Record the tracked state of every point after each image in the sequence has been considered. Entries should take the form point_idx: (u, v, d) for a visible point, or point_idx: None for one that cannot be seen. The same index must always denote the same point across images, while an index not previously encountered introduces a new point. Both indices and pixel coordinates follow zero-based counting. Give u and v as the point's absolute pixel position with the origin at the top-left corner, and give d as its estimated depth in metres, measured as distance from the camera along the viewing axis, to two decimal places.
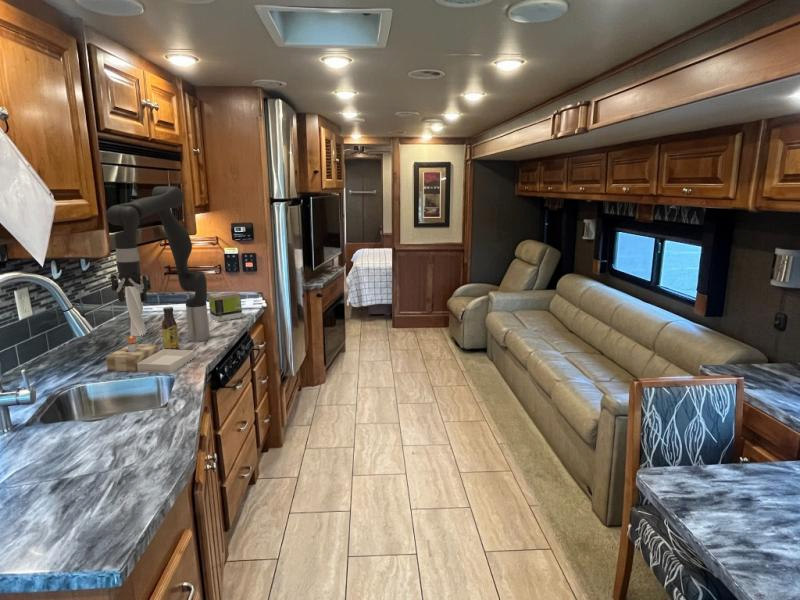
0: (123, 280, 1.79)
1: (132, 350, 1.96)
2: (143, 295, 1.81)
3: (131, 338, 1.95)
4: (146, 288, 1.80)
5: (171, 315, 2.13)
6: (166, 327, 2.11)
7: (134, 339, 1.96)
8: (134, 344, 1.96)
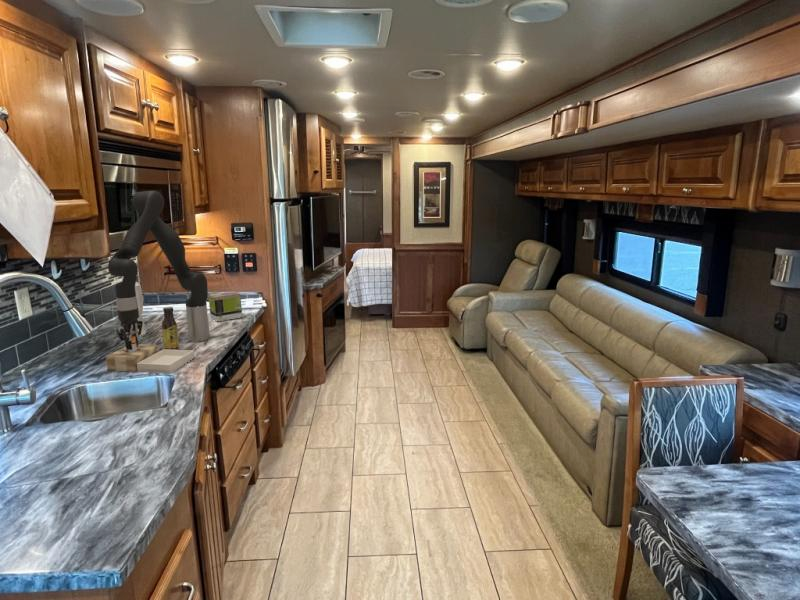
0: (132, 326, 1.94)
1: (132, 350, 1.96)
2: None
3: (131, 338, 1.95)
4: (140, 332, 2.00)
5: (171, 315, 2.13)
6: (166, 327, 2.11)
7: (134, 339, 1.96)
8: (134, 344, 1.96)
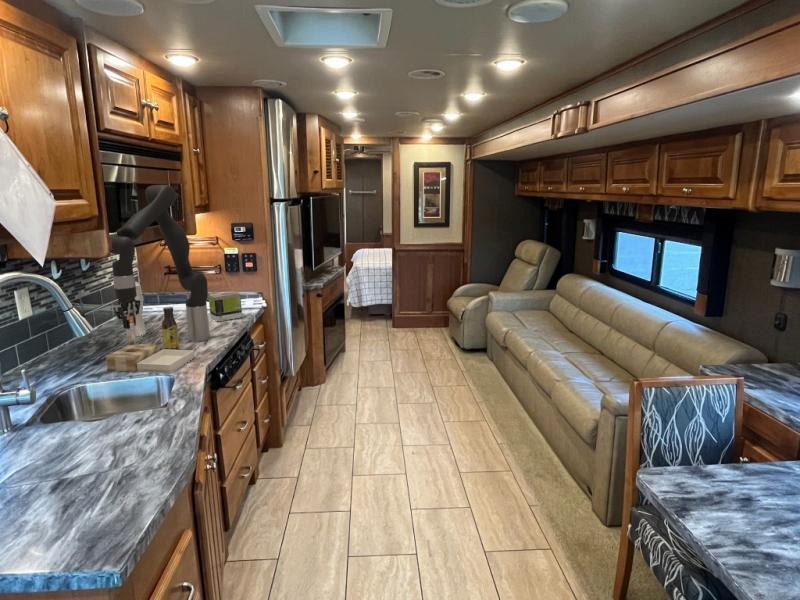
0: (129, 305, 1.92)
1: (130, 329, 1.94)
2: (135, 319, 1.97)
3: (129, 317, 1.93)
4: (138, 311, 1.98)
5: (171, 315, 2.13)
6: (166, 327, 2.11)
7: (132, 318, 1.94)
8: (132, 323, 1.94)
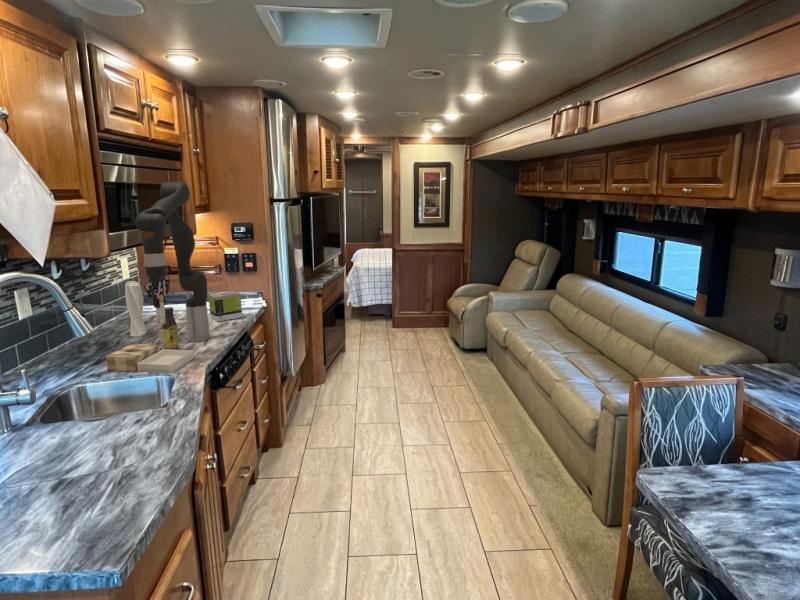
0: (160, 283, 1.89)
1: (160, 308, 1.92)
2: (164, 298, 1.95)
3: (159, 296, 1.91)
4: (167, 291, 1.96)
5: (171, 315, 2.13)
6: (166, 327, 2.11)
7: (162, 297, 1.92)
8: (162, 302, 1.92)
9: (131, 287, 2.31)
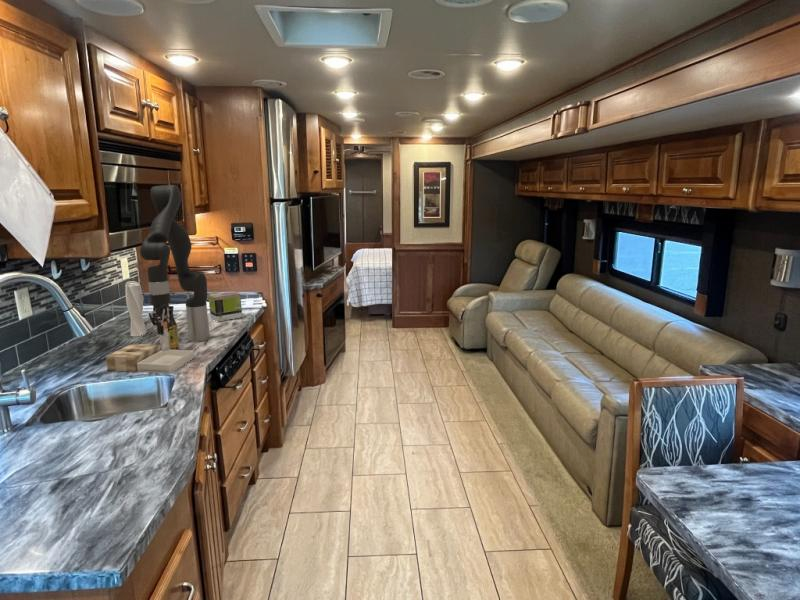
0: (164, 311, 1.92)
1: (163, 335, 1.94)
2: None
3: (163, 323, 1.93)
4: (171, 317, 1.98)
5: None
6: None
7: (165, 324, 1.94)
8: (165, 329, 1.94)
9: (131, 287, 2.31)
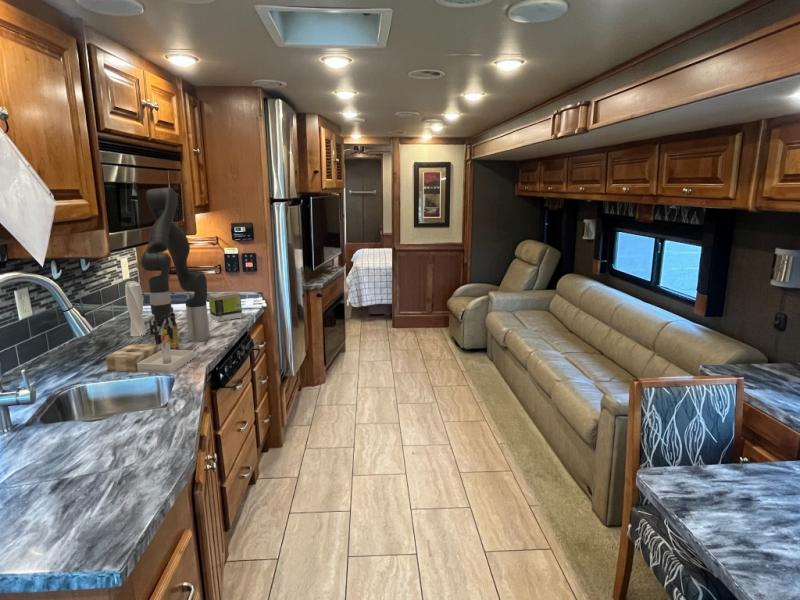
0: (165, 321, 1.92)
1: (165, 348, 1.95)
2: None
3: (164, 336, 1.94)
4: (175, 323, 2.01)
5: None
6: None
7: (167, 337, 1.95)
8: (167, 342, 1.95)
9: (131, 287, 2.31)
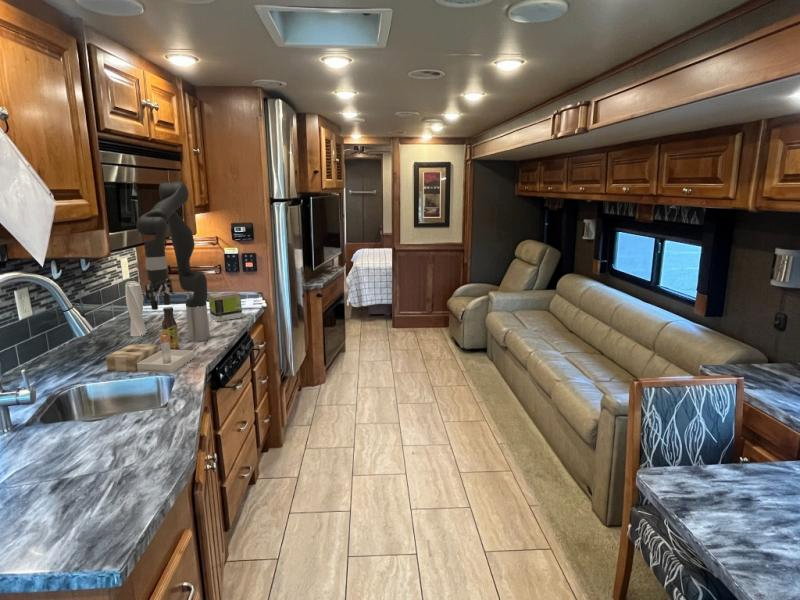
0: (161, 287, 1.89)
1: (165, 348, 1.95)
2: None
3: (164, 336, 1.94)
4: (172, 290, 1.98)
5: (171, 315, 2.13)
6: (166, 327, 2.11)
7: (167, 337, 1.95)
8: (167, 342, 1.95)
9: (131, 287, 2.31)
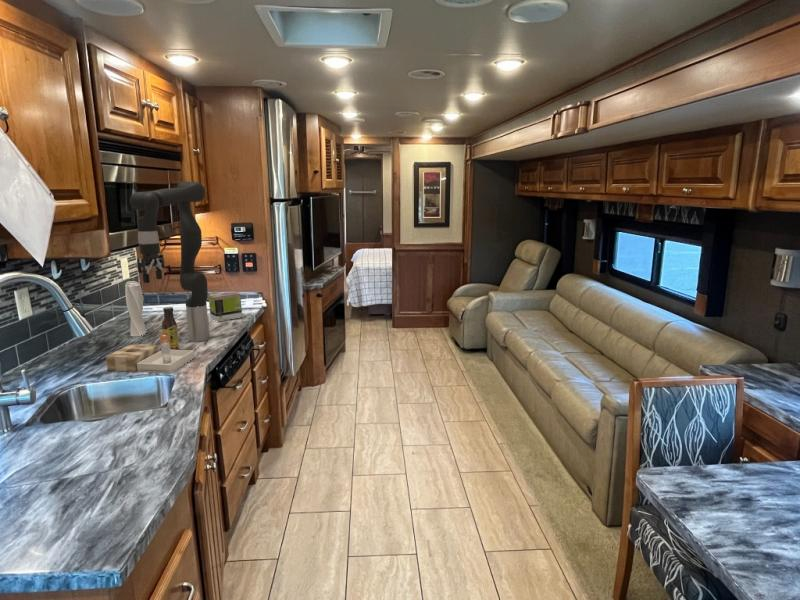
0: (153, 261, 1.95)
1: (165, 348, 1.95)
2: None
3: (164, 336, 1.94)
4: (164, 265, 2.04)
5: (171, 315, 2.13)
6: (166, 327, 2.11)
7: (167, 337, 1.95)
8: (167, 342, 1.95)
9: (131, 287, 2.31)
